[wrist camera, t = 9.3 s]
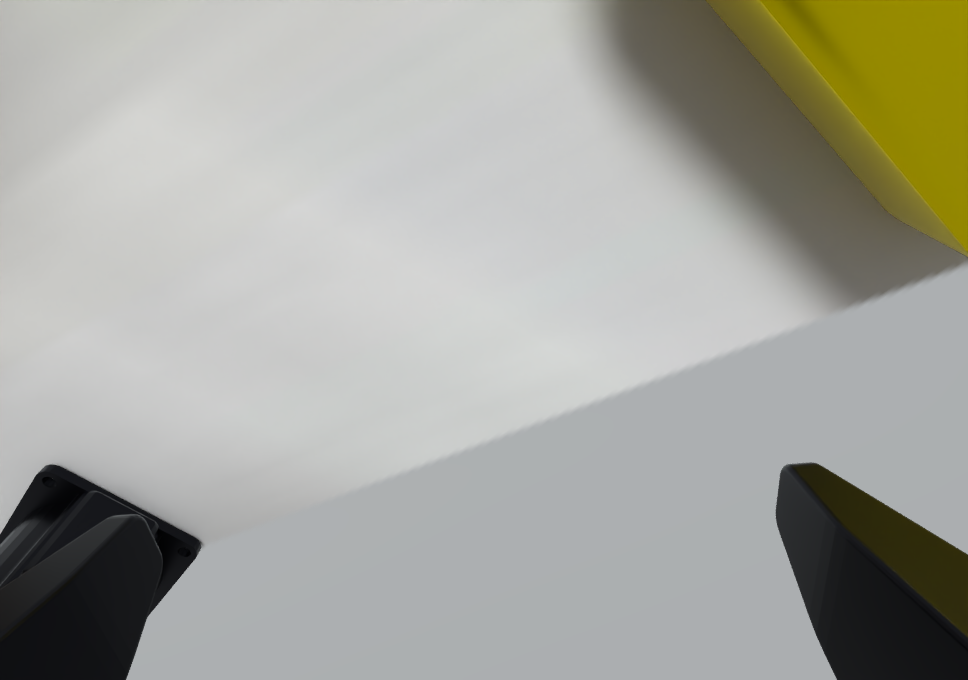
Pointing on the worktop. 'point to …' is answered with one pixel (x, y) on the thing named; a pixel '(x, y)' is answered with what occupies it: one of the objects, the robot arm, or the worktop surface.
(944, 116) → the element tile
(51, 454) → the worktop surface
